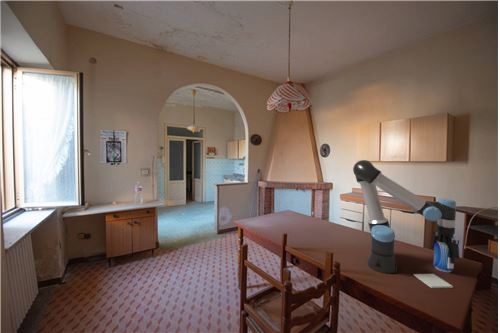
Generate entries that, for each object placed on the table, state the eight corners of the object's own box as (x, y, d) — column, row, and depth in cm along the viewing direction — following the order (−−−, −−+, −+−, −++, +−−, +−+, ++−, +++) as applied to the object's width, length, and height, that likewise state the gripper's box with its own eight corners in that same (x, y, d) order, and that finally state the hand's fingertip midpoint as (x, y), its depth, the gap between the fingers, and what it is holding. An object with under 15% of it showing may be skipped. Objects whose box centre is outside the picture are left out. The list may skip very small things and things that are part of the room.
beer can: (433, 264, 128) (434, 238, 127) (452, 268, 123) (453, 242, 122) (433, 269, 122) (434, 242, 121) (453, 275, 116) (455, 247, 116)
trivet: (431, 288, 105) (431, 286, 105) (413, 275, 116) (413, 274, 116) (452, 287, 105) (452, 286, 105) (433, 275, 116) (433, 273, 116)
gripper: (470, 232, 111) (468, 274, 112) (436, 220, 130) (434, 256, 132) (456, 232, 110) (454, 274, 112) (424, 220, 130) (423, 256, 131)
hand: (444, 264), depth 122 cm, fingers closed on beer can, 7 cm apart
